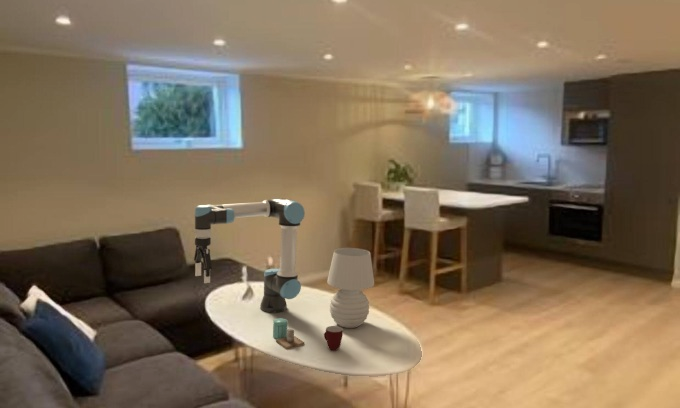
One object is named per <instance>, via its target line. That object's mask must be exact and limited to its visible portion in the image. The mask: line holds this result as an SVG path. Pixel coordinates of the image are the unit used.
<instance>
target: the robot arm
mask: <svg viewBox="0 0 680 408" xmlns="http://www.w3.org/2000/svg"><path fill="white" fill-rule="evenodd" d="M305 214H306V213H305V208H304V207H303V205H302V204H301V203H299V202H298V201H296V200H291V199H288V198H280V197H279V198H272V199H264V200H263V201H258V202H243V203H242V202H241V203H227V204H226V203H225V204H212V203H211V204H210V203H209V204H201V205H200V204H199V205H197V206H196V207H195V208H194V231H193V233H194V236H195V237H194V245H195V250H194V251H195V252H194V257H193V261H194V263H195V265H194V267H195V269H194V271H195V277H199V276H202V262H203V267H204V268H203V284H208V283H209V284H210V283H211V270H213V268H212V267H213V265H212V259H211V250H210V249H209V248H208V246H210V245H211V243H212V242H211V241H212V240H211V239H212V238H211V236H212V228H211V227H212V225H224V224H225V225H227V224H232V223H233V222H234V221H235V219H236V218H239V219H240V218H247V217H248V218H249V217H262V216H263V217H264V218H275V219H278V225H279V226H280V228H281V231H280V251H279V252H280V254H279V268H269V269H266V270H264V274H263V295H262V299H261V302H260V305H259V306H260V308H259V309H260V310H261V311H263V312H266V313H280V312H284V311H286V310H287V307H288V305H287V301H286V300H293V299H294V298H296V297H297V296H298V295H299V294H300V292H301V290H302V284H301V282H300V281H299V280H298V278H299V277H298V276H299V274H298V272H297V271H296V259H297V241H298V240H297V239H298V237H297V236H298V229H299V227H300V226H301V222H302V221H303V220H304V218H305Z"/></svg>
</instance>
